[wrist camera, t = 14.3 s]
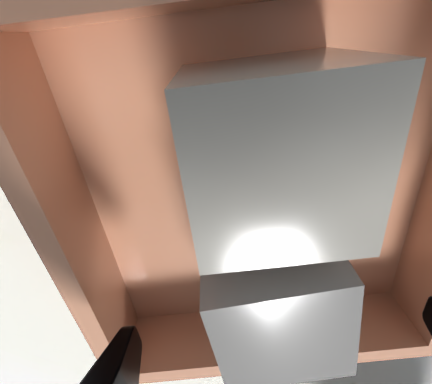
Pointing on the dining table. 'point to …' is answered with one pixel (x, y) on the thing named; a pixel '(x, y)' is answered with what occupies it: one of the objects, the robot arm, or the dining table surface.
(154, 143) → the dish
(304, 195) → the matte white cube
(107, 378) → the robot arm
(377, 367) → the dining table surface
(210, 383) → the dining table surface
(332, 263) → the grey cube
